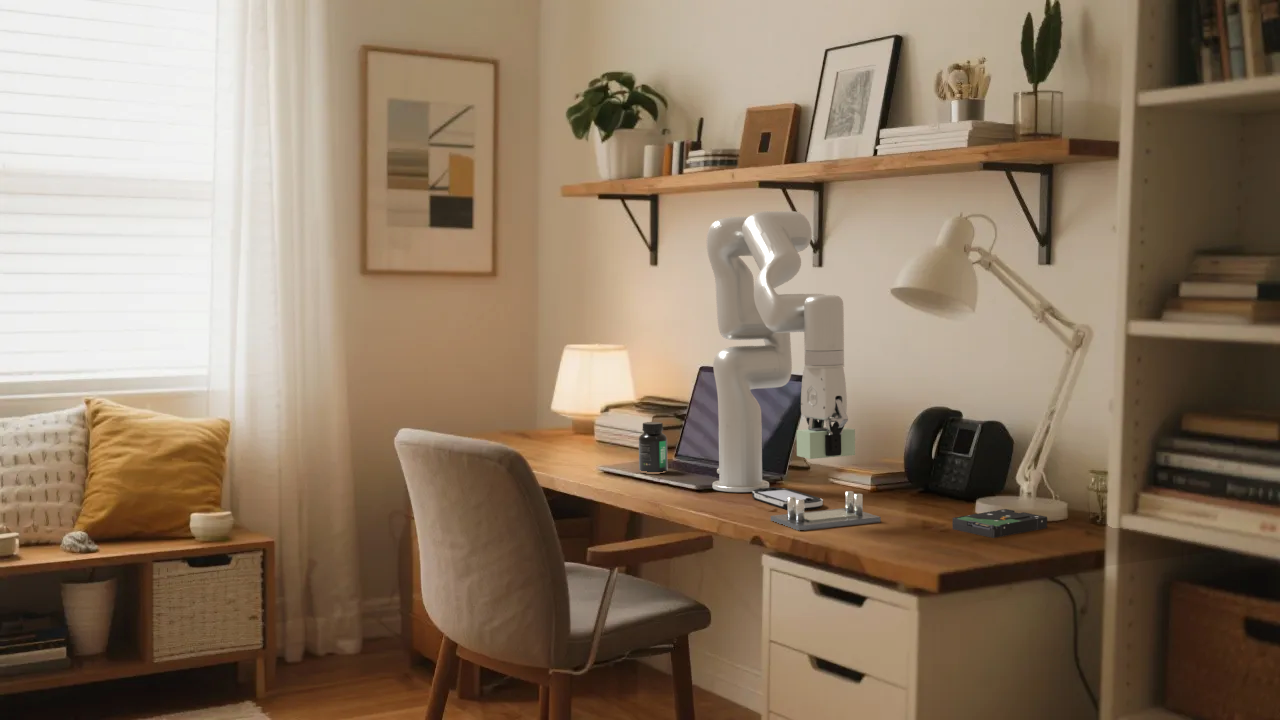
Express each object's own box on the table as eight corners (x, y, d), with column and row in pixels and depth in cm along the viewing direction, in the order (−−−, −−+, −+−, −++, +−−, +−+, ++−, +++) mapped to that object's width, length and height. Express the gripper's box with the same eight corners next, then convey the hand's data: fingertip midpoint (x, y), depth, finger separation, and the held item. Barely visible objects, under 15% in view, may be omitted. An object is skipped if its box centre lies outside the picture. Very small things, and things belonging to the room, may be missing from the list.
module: (796, 455, 258) (796, 428, 258) (841, 452, 262) (841, 425, 262) (810, 458, 253) (809, 431, 253) (855, 455, 257) (854, 427, 257)
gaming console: (829, 511, 272) (829, 498, 272) (791, 514, 269) (791, 502, 269) (782, 495, 290) (782, 484, 290) (745, 499, 286) (745, 487, 286)
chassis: (770, 520, 260) (770, 495, 260) (849, 512, 267) (849, 487, 267) (799, 531, 250) (798, 504, 250) (880, 522, 257) (880, 496, 257)
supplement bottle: (670, 473, 319) (669, 424, 318) (642, 475, 318) (641, 425, 317) (664, 469, 326) (663, 420, 325) (636, 471, 325) (635, 421, 324)
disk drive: (1004, 522, 258) (951, 531, 250) (1004, 508, 258) (951, 516, 250) (1048, 531, 250) (994, 540, 241) (1048, 516, 249) (994, 525, 241)
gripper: (785, 358, 263) (786, 450, 264) (830, 362, 247) (832, 460, 248) (818, 356, 266) (819, 447, 267) (865, 361, 250) (866, 457, 251)
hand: (825, 452), depth 258 cm, fingers closed on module, 5 cm apart
